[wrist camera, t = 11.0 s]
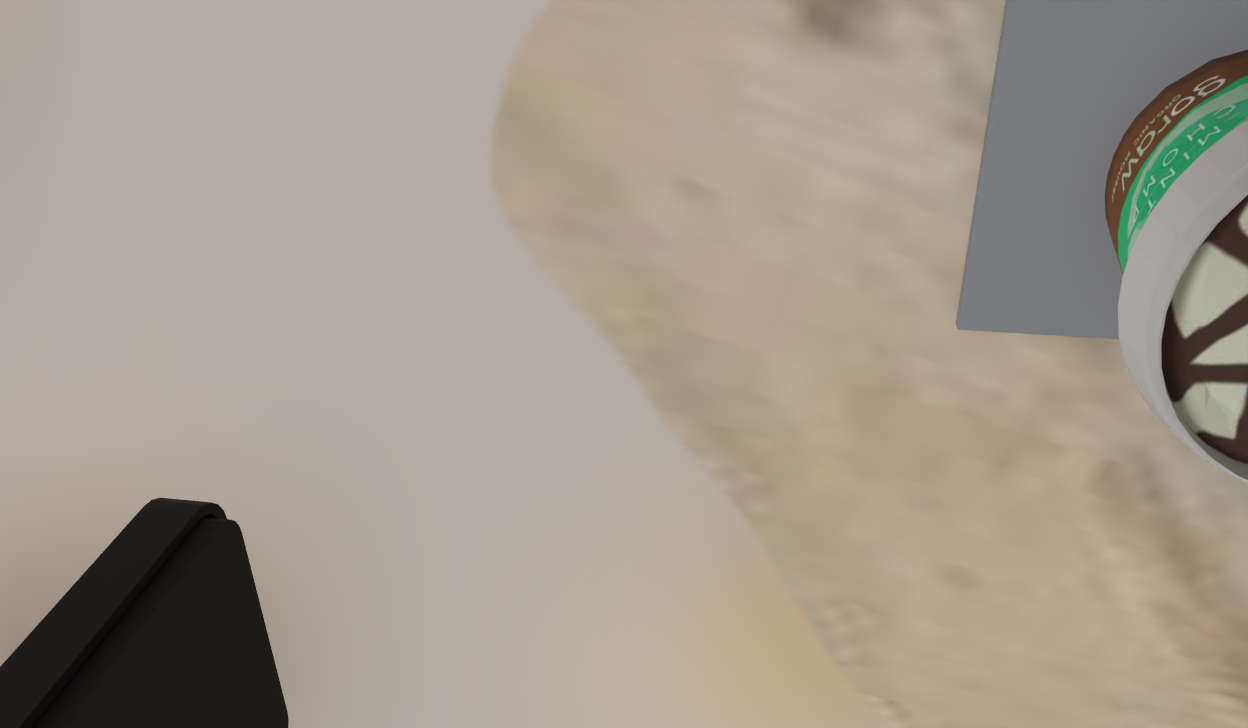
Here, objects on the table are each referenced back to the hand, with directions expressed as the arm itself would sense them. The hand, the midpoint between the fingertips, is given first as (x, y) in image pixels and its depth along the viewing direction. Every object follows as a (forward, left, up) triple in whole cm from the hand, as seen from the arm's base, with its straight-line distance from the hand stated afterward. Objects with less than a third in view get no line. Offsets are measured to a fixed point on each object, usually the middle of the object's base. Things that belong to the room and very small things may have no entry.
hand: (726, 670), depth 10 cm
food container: (-5, -13, -30) cm, 33 cm away
